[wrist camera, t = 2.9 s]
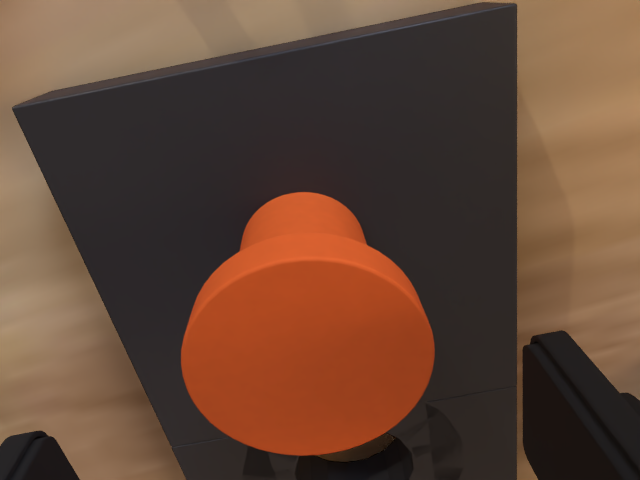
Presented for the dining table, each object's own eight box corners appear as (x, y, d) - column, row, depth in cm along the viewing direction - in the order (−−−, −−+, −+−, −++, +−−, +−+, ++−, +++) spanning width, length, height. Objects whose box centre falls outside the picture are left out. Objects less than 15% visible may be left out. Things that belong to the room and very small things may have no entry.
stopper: (194, 185, 15) (142, 287, 10) (377, 149, 14) (424, 233, 9) (241, 332, 17) (220, 474, 12) (397, 303, 17) (444, 435, 12)
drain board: (49, 91, 16) (9, 107, 13) (484, 1, 15) (517, 2, 13) (241, 537, 26) (237, 587, 24) (498, 494, 26) (517, 541, 24)
